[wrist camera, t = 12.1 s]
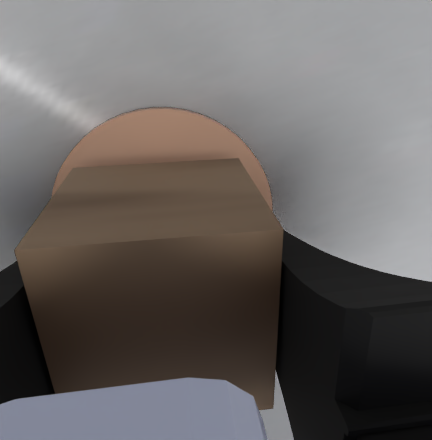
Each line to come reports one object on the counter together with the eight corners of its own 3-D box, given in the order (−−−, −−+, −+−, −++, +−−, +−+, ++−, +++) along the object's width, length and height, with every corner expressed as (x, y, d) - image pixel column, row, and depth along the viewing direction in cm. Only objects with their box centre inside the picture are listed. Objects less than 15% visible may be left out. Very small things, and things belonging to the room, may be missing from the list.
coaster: (267, 292, 17) (270, 299, 16) (78, 312, 16) (75, 320, 15) (271, 100, 13) (274, 102, 13) (29, 115, 12) (24, 117, 12)
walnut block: (238, 290, 14) (273, 408, 10) (98, 303, 14) (66, 433, 9) (238, 157, 12) (283, 229, 7) (72, 167, 11) (14, 250, 7)
